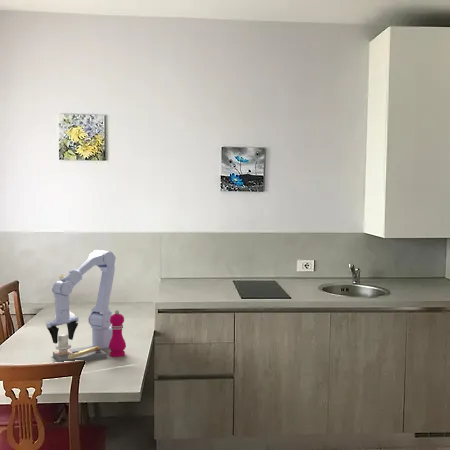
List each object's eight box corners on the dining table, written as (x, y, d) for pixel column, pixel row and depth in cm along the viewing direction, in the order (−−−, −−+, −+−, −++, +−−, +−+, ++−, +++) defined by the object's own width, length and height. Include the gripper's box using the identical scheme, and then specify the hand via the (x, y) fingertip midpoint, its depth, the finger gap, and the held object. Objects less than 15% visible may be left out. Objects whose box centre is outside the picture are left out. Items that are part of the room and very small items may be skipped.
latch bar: (97, 348, 244) (97, 345, 244) (101, 349, 243) (101, 345, 242) (67, 358, 229) (67, 355, 229) (71, 359, 228) (71, 355, 228)
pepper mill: (110, 359, 240) (110, 312, 239) (107, 354, 247) (106, 309, 246) (127, 357, 243) (127, 311, 242) (123, 352, 250) (123, 307, 248)
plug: (68, 349, 246) (68, 332, 245) (73, 353, 240) (72, 336, 240) (53, 351, 242) (53, 334, 242) (58, 355, 237) (57, 338, 236)
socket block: (96, 351, 252) (96, 343, 252) (106, 359, 240) (106, 351, 240) (52, 357, 243) (52, 349, 242) (61, 366, 231) (61, 358, 230)
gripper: (71, 305, 248) (71, 336, 249) (41, 311, 237) (42, 343, 238) (81, 307, 244) (81, 338, 245) (51, 313, 233) (52, 346, 233)
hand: (63, 341), depth 241 cm, fingers open, 7 cm apart
